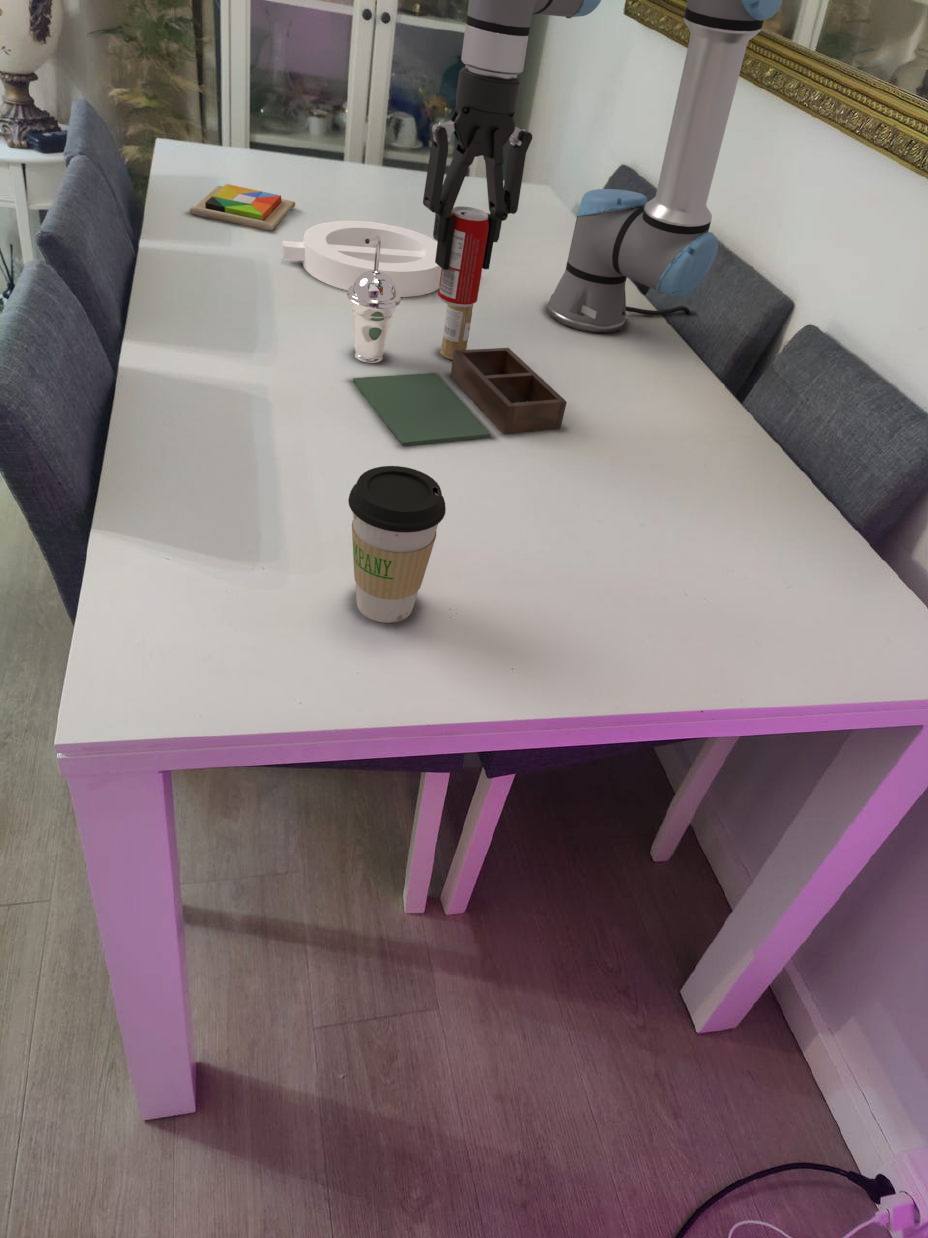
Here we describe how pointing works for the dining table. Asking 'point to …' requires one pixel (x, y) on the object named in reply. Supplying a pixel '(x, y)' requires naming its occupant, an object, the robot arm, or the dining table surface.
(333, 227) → the ring with crossbar
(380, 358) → the cup with straw
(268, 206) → the wooden puzzle
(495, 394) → the can holder
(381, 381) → the rubber mat
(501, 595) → the dining table surface
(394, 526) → the coffee cup
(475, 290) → the soda can
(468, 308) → the sprinkles bottle
